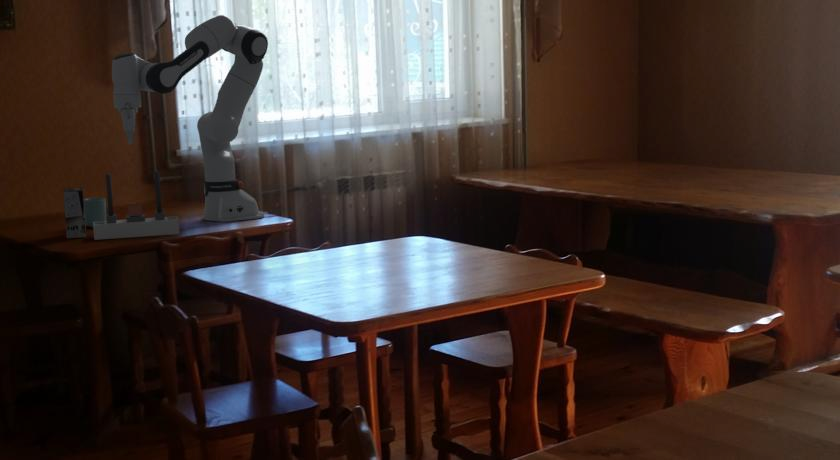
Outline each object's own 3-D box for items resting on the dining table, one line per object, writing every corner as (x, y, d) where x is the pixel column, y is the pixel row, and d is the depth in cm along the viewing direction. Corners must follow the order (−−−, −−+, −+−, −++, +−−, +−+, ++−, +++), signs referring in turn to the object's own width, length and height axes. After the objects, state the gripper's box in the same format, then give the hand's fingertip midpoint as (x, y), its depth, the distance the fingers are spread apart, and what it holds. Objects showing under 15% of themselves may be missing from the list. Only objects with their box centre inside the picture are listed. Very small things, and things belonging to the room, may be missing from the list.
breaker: (142, 215, 361) (141, 205, 361) (142, 214, 360) (141, 205, 360) (129, 215, 360) (128, 206, 360) (129, 215, 359) (128, 205, 359)
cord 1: (116, 221, 360) (112, 173, 357) (116, 222, 357) (112, 174, 354) (107, 221, 360) (103, 173, 357) (107, 223, 356) (103, 175, 353)
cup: (103, 228, 375) (101, 200, 374) (81, 228, 376) (79, 201, 374) (110, 224, 383) (108, 197, 381) (88, 224, 383) (86, 197, 381)
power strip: (178, 230, 368) (177, 211, 367) (179, 233, 361) (178, 214, 360) (94, 236, 361) (93, 217, 360) (94, 239, 354) (92, 220, 353)
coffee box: (86, 237, 359) (82, 190, 356) (66, 238, 357) (62, 191, 354) (86, 232, 368) (83, 186, 365) (67, 234, 366) (63, 188, 363)
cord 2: (164, 217, 365) (161, 170, 362) (164, 219, 361) (161, 172, 358) (155, 218, 364) (152, 171, 361) (155, 220, 360) (152, 172, 357)
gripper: (137, 104, 344) (140, 146, 346) (136, 100, 363) (139, 140, 366) (117, 104, 342) (120, 147, 345) (117, 101, 362) (120, 141, 364)
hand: (130, 143), depth 356 cm, fingers closed
